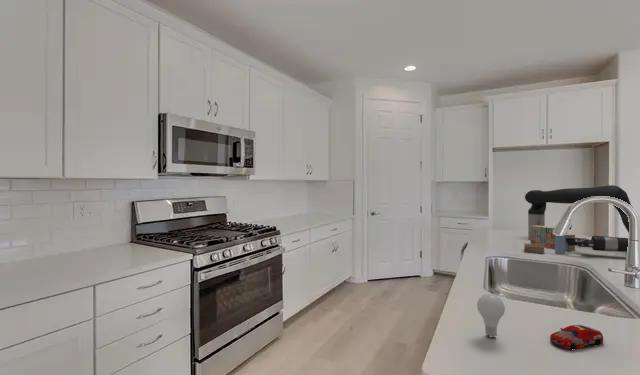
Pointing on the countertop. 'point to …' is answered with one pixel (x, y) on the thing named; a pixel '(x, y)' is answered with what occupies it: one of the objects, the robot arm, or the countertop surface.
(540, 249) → the base block
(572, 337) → the race car
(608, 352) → the countertop surface
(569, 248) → the stack of blocks
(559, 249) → the pillar block
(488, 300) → the lightbulb
